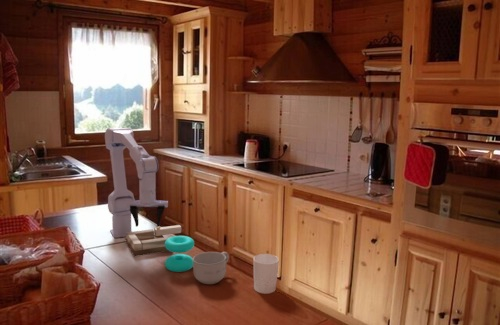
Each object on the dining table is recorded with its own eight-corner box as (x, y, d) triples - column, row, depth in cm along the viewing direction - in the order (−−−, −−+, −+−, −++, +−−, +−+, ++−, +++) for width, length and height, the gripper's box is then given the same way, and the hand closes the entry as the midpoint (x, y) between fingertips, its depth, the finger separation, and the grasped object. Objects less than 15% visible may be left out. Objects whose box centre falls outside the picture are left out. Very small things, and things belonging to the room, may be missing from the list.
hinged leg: (156, 236, 168) (156, 228, 168) (154, 234, 170) (154, 226, 170) (181, 232, 173) (181, 225, 173) (179, 230, 175) (179, 223, 175)
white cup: (248, 284, 135) (249, 255, 133) (271, 281, 138) (272, 252, 136) (257, 296, 128) (259, 265, 126) (281, 292, 131) (283, 262, 129)
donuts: (175, 232, 151) (199, 237, 147) (175, 259, 153) (199, 264, 149) (158, 241, 142) (183, 247, 138) (158, 269, 144) (183, 275, 140)
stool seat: (125, 243, 166) (125, 232, 165) (160, 238, 172) (160, 227, 172) (134, 256, 154) (134, 244, 153) (171, 250, 160) (171, 239, 159)
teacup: (204, 291, 130) (204, 266, 128) (185, 278, 138) (186, 255, 137) (240, 279, 139) (240, 256, 137) (220, 267, 147) (221, 245, 145)
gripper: (125, 192, 150) (125, 229, 152) (167, 192, 152) (166, 229, 154) (128, 187, 157) (128, 222, 159) (168, 188, 158) (168, 222, 161)
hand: (147, 225), depth 157 cm, fingers open, 7 cm apart
